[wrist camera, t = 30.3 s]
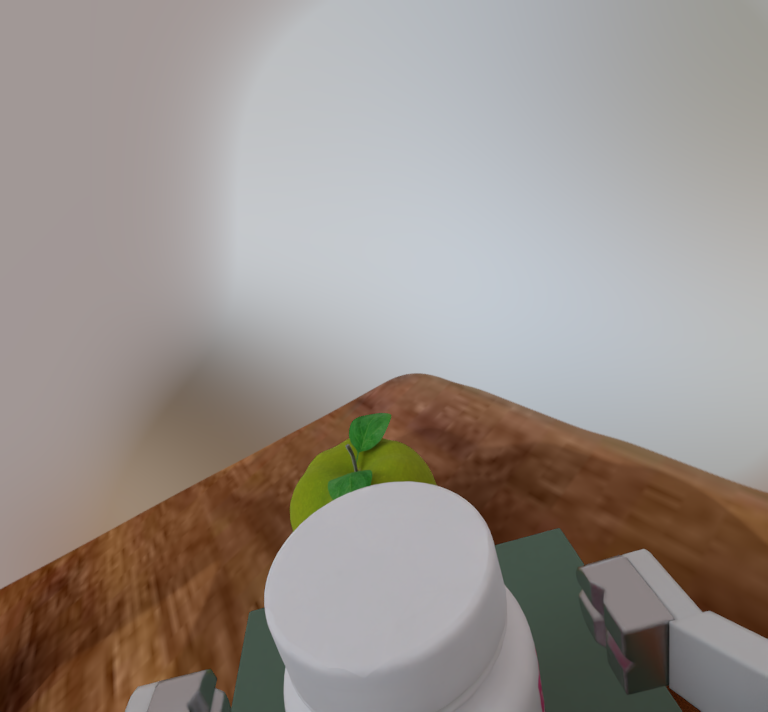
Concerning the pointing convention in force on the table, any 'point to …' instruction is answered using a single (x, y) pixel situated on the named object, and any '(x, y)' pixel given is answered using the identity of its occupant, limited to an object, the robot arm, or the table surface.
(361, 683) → the pill bottle
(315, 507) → the fruit
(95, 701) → the table surface
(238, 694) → the lid
